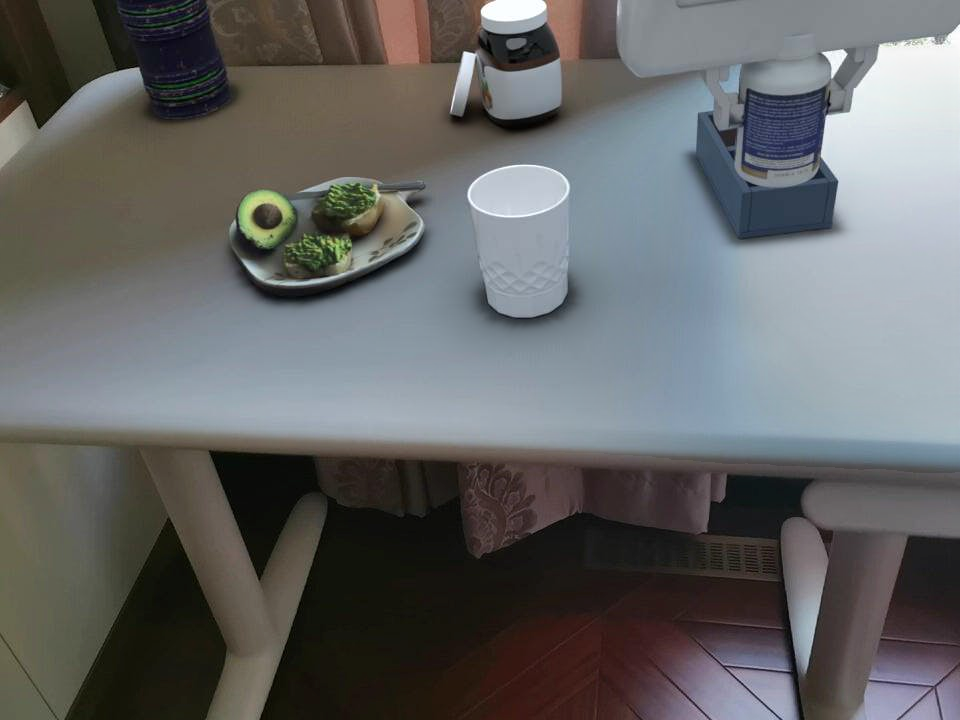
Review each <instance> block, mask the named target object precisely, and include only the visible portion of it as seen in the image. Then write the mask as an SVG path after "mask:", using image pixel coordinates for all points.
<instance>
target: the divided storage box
mask: <svg viewBox="0 0 960 720" xmlns="http://www.w3.org/2000/svg"><path fill="white" fill-rule="evenodd" d="M696 122H697V124H696V142H695V143H696V144H695V157H696V158H697V159H696V160H698V163H699V164H700V166H701V168H702V170H703V173H704V174H705V176H706V178H707V180H708V182H709V184H710V186H711V188H712V190H713V191H714V194H715V195H716V197H717V199H718V202H719V203H720V205H721V207H722V210H723V211H724V213H725V215H726V217H727V219H728V221H729V223H730V224H731V227H732V228H733V230H734V231H733V232H735V234H736V236H737V238H738V239H739V240H740V239H747V238H755V237H764V236H773V235H781V234H786V233H787V234H789V233H798V232H805V231H806V232H807V231H813V230H822V229H830V228H832V226H833V219H834V213H835V205H836V200H837V193H838V187H839V182H840V181H839V179H838V178H837V177H836V175H835V174H834V173H833V171H832V170H831V168H830V167H829V166H828V164H827V163H826V162H825V160H824V159H823V157H822V156H821V157H820V163H819V168H818V171H817V173H816V174H815V175H814V177H812V178H811V179H810V180H808V181H806V182H803V183H801V184H798V185H794V186H788V187H764V186H759V185H755V184H753V183H750V182H748V181H746V180H745V179H743V178H742V177H741V176H740V175H739V174H738V173H737V171H736V169H735V140H736V128H735V129H729V130H722V131H719V130H718V128H717V126H716V125H715V123H714V117H713V110H708V111H700V112H698V113H697V121H696Z"/></svg>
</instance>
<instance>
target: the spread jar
mask: <svg viewBox="0 0 960 720" xmlns="http://www.w3.org/2000/svg"><path fill="white" fill-rule="evenodd" d="M480 20H481V28H480V29H479V31H478V32H477V34H476V38H475V42H474V43H475V44H474V52H475V53H472V52H469V51H463V52H462V56H461V60H460V63H459V68H458V73H457V77H456V82H455V87H454V92H453V97H452V101H451V107H450V115H453V116H457V117H461V118H462V117H463V116H464V113H465V109H466V105H467V101H468V98H469V97H468V96H469V92H470V89H471V83H472V79H473V74H474V69H475V64H476V72H477V74H476V75H477V82H478V88H479V89H478V90H479V93H480V97H481V102H482V104H483V107H484V110H485V112H486V114H487V116H488V117H489V119H490V120H491V121H492V122H493V123H495V124H497V125H499V126H502V127H506V128H526V127H527V128H528V127H531V126H532V127H533V126H535V125H538V124H541V123H543V122H545V121H546V120H548V119H550V118H551V117H552V116H554V115H555V114H556V113H557V112H558V111H559V109H560V107H561V105H562V102H563V101H562V100H563V83H562V64H561V63H562V62H561V53H560V48H559V45H558V42H557V40H556V37H555V33H554V32H553V30H552V29H551V26H550V25H549V23H548V22H547V21H548V7H547V4H546V2H545V1H544V0H492V1H490V2H489V3H487V4H485V5H484V6H482V8H481V9H480ZM475 62H476V63H475Z"/></svg>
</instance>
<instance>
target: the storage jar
mask: <svg viewBox="0 0 960 720" xmlns="http://www.w3.org/2000/svg"><path fill="white" fill-rule="evenodd" d="M115 2H116V5H117V11H118V15H119V17H120V19H121V21H122V23H123V27H124V30H125V32H126V35H127V36H128V38H130V40H131V42H132V46H133V48H134V51H135V55H136V58H137V61H138V63H139V66H138V69H139V73H140V75H141V78H142V84H143V87H144V91H145V92H146V94H147V95H148V99H149V100H150V101H151V106H152V111H153V112H154V114H155V115H156V116H158V117H159V118H162V119H167V120H187V119H192V118H197V117H201V116H205V115H207V114H210V113H212V112H216V111H218V110H219V109H221V108H223V107H224V106H226V104H228V103H229V102H230V101H231V99H232V97H233V91H232V89H231V88H232V87H231V86H230V85H229V78H228V71H227V67H226V63H225V62H224V60H223V56H222V52H221V49H220V48H219V46H217V42H216V38H215V35H214V32H213V28H212V25H211V21H210V20H211V14H210V12H211V11H210V8H209V7H208V4H207V3H208V0H115Z"/></svg>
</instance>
